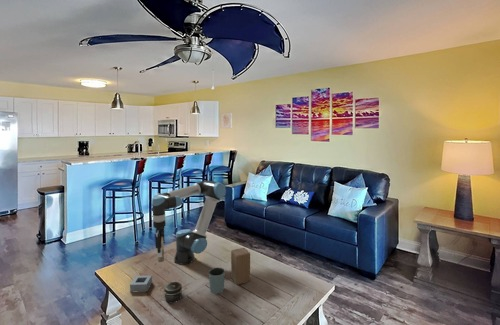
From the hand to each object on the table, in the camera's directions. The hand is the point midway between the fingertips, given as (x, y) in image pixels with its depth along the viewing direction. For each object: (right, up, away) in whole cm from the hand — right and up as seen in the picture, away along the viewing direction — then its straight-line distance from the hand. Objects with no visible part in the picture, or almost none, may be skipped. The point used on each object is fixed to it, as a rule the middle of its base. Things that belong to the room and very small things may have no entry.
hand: (160, 255), depth 174 cm
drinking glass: (+37, -20, -6) cm, 43 cm away
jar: (+13, -21, -15) cm, 28 cm away
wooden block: (+52, -18, +5) cm, 55 cm away
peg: (0, -4, 0) cm, 4 cm away
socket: (-11, -19, -4) cm, 22 cm away
